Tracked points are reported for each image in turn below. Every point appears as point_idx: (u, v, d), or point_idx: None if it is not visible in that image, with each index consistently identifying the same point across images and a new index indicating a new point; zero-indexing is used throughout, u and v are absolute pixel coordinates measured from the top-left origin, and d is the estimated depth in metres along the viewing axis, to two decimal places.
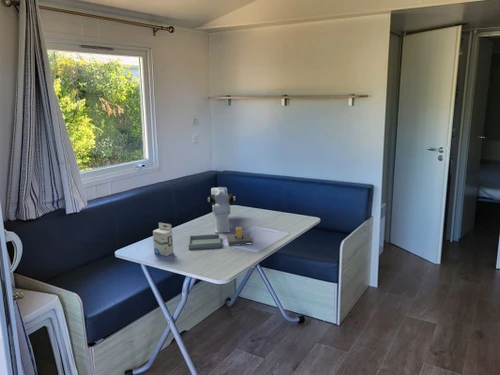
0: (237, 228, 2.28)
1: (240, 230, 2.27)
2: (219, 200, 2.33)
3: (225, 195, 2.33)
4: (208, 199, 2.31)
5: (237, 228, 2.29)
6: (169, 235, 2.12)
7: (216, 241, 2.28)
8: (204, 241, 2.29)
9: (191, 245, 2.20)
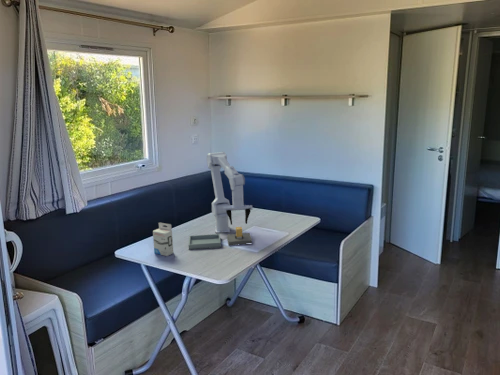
0: (237, 228, 2.28)
1: (240, 230, 2.27)
2: None
3: None
4: (224, 210, 2.26)
5: (237, 228, 2.29)
6: (169, 235, 2.12)
7: (216, 241, 2.28)
8: (204, 241, 2.29)
9: (191, 245, 2.20)
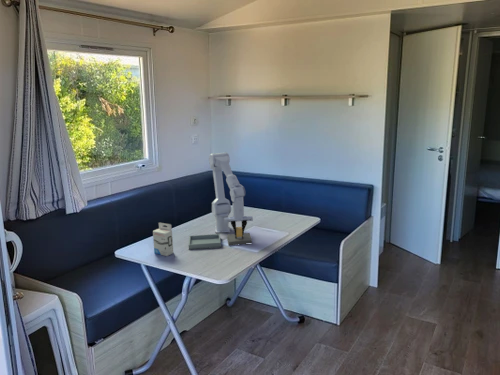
0: (237, 228, 2.28)
1: (240, 230, 2.27)
2: None
3: None
4: (225, 222, 2.27)
5: (237, 228, 2.29)
6: (169, 235, 2.12)
7: (216, 241, 2.28)
8: (204, 241, 2.29)
9: (191, 245, 2.20)
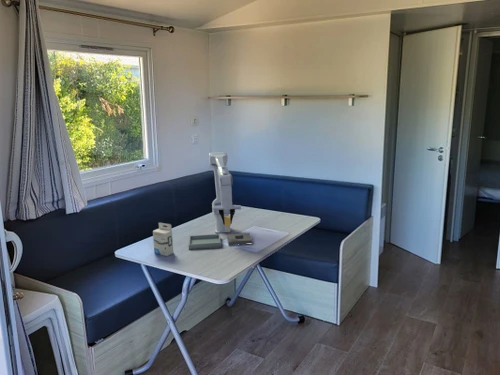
0: (225, 217, 2.26)
1: (228, 219, 2.24)
2: None
3: None
4: (213, 210, 2.24)
5: (225, 217, 2.26)
6: (169, 235, 2.12)
7: (216, 241, 2.28)
8: (204, 241, 2.29)
9: (191, 245, 2.20)
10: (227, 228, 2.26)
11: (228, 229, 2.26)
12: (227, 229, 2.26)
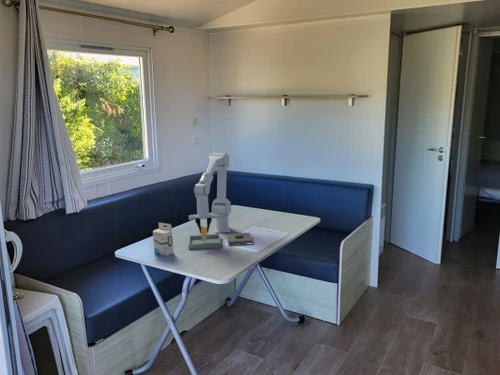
0: (202, 227, 2.24)
1: (205, 229, 2.23)
2: None
3: None
4: (189, 219, 2.24)
5: (202, 227, 2.25)
6: (169, 235, 2.12)
7: (216, 241, 2.28)
8: (204, 241, 2.29)
9: (191, 245, 2.20)
10: (204, 238, 2.24)
11: (205, 239, 2.24)
12: (204, 239, 2.24)
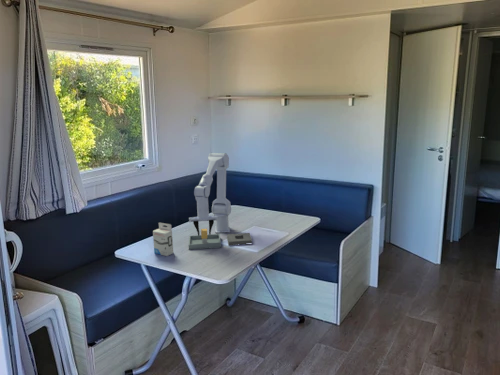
0: (202, 230, 2.25)
1: (205, 232, 2.24)
2: None
3: None
4: (189, 221, 2.24)
5: (202, 230, 2.25)
6: (169, 235, 2.12)
7: (216, 241, 2.28)
8: None
9: (191, 245, 2.20)
10: (204, 241, 2.25)
11: (205, 242, 2.25)
12: (204, 242, 2.25)
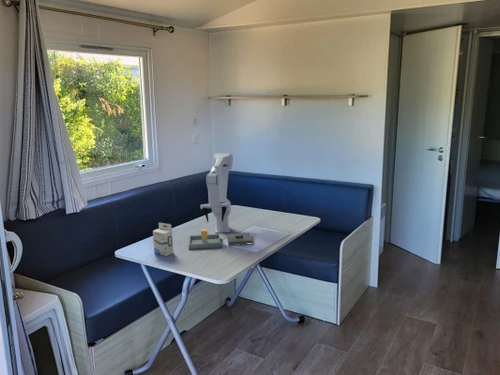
0: (202, 230, 2.25)
1: (205, 232, 2.24)
2: None
3: None
4: (201, 208, 2.29)
5: (202, 230, 2.25)
6: (169, 235, 2.12)
7: (216, 241, 2.28)
8: None
9: (191, 245, 2.20)
10: (204, 241, 2.25)
11: (205, 242, 2.25)
12: (204, 242, 2.25)
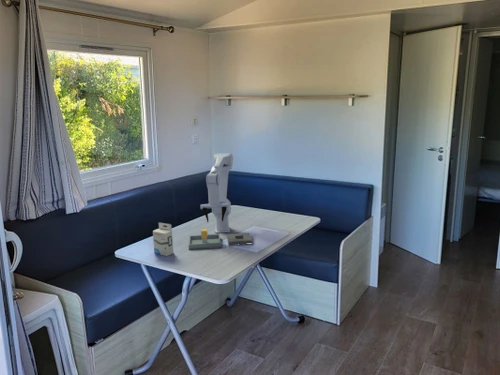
0: (202, 230, 2.25)
1: (205, 232, 2.24)
2: None
3: None
4: (201, 208, 2.29)
5: (202, 230, 2.25)
6: (169, 235, 2.12)
7: (216, 241, 2.28)
8: None
9: (191, 245, 2.20)
10: (204, 241, 2.25)
11: (205, 242, 2.25)
12: (204, 242, 2.25)
